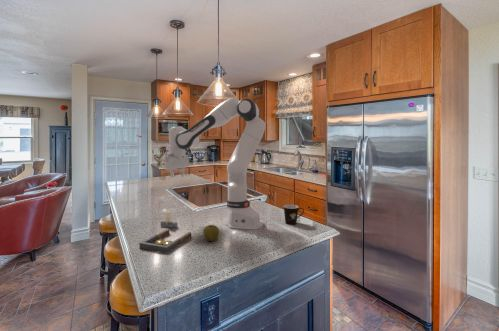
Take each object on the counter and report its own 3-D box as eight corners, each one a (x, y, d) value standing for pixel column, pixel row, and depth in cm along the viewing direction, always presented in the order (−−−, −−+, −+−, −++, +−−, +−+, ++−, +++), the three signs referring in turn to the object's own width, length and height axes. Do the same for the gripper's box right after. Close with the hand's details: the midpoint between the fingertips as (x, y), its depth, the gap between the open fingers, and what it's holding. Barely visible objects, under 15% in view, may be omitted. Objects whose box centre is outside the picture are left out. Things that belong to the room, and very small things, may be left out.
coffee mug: (282, 225, 152) (282, 208, 151) (284, 220, 160) (284, 204, 159) (303, 226, 149) (303, 209, 148) (303, 221, 157) (304, 205, 156)
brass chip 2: (174, 244, 125) (174, 241, 125) (168, 248, 121) (168, 244, 121) (167, 243, 127) (167, 240, 126) (161, 246, 123) (161, 243, 122)
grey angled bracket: (180, 244, 125) (180, 239, 124) (166, 253, 115) (166, 247, 115) (154, 240, 130) (154, 235, 130) (139, 248, 121) (139, 242, 120)
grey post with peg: (177, 227, 148) (177, 212, 147) (175, 228, 146) (174, 213, 146) (163, 225, 152) (162, 210, 151) (160, 226, 150) (160, 211, 149)
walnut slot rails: (191, 237, 134) (191, 232, 133) (180, 244, 125) (180, 238, 125) (167, 233, 139) (166, 229, 138) (155, 239, 130) (155, 234, 130)
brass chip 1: (166, 242, 127) (166, 239, 127) (162, 246, 123) (162, 243, 123) (157, 242, 128) (157, 239, 128) (153, 246, 123) (153, 242, 123)
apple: (211, 236, 135) (211, 222, 134) (222, 240, 130) (222, 226, 129) (200, 240, 129) (199, 226, 128) (211, 244, 124) (210, 230, 123)
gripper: (170, 154, 149) (171, 178, 151) (190, 152, 168) (191, 173, 170) (161, 154, 151) (162, 177, 153) (182, 152, 171) (182, 173, 172)
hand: (177, 175), depth 162 cm, fingers open, 8 cm apart
